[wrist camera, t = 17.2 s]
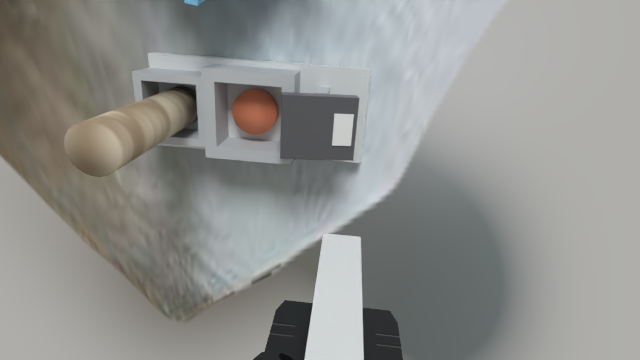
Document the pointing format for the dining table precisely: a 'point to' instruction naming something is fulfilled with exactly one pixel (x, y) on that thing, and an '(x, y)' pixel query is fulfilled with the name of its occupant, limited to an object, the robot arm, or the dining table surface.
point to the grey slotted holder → (232, 80)
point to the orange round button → (255, 111)
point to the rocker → (318, 126)
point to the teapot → (194, 2)
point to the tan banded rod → (129, 131)
